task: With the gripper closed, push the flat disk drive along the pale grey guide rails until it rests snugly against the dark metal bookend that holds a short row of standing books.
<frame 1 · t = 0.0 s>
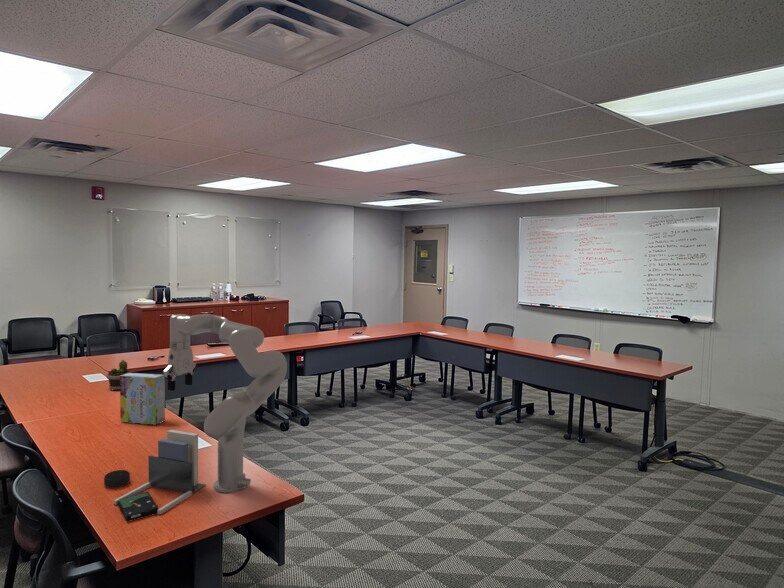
hand: (180, 387, 203), 37 cm above the table, tool pointing down, fingers open, 9 cm apart
snack box: (142, 422, 271), on the table
flowerpot: (119, 389, 336), on the table
book row: (176, 486, 197), resting on bookend
disk drive: (137, 510, 179), on the table
bookend: (170, 489, 194), on the table
smart speaker: (117, 484, 198), on the table
guide rails: (153, 499, 186), on the table
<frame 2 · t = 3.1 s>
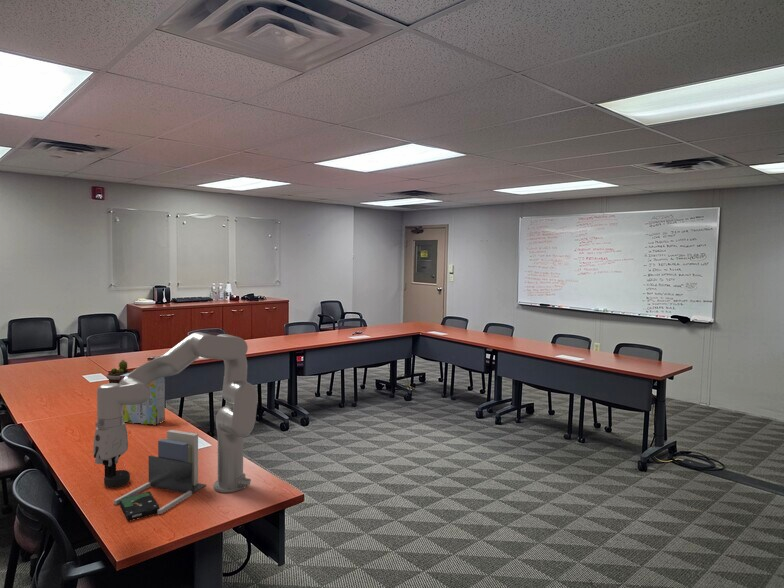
hand: (110, 476, 167), 16 cm above the table, tool pointing down, fingers closed
nothing on the table moved.
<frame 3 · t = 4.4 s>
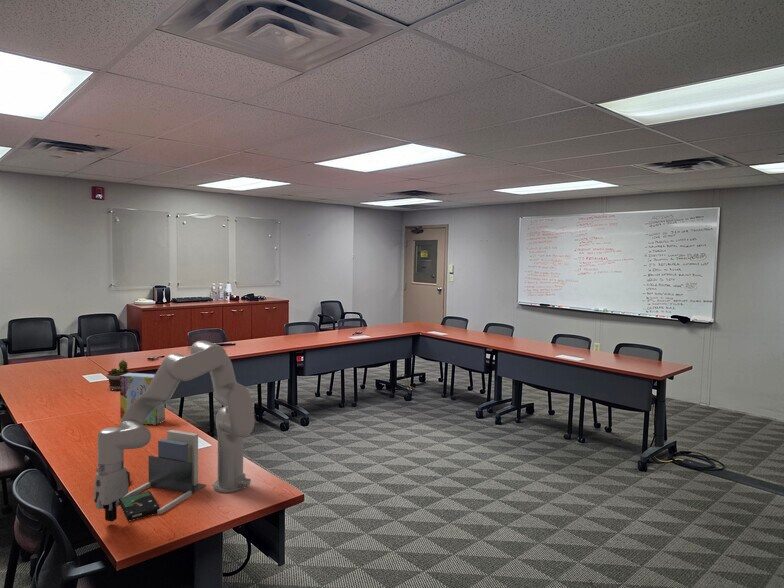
hand: (110, 519, 168), 2 cm above the table, tool pointing down, fingers closed
nothing on the table moved.
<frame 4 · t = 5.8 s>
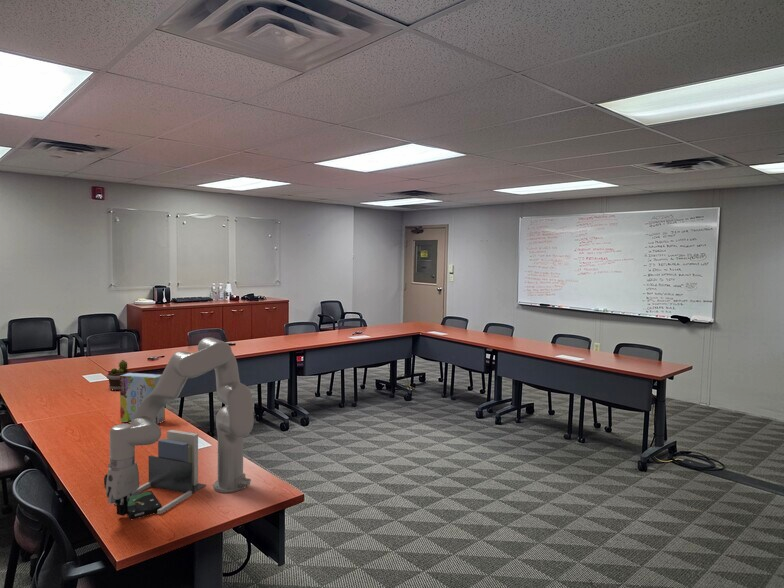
hand: (122, 513, 172), 1 cm above the table, tool pointing down, fingers closed
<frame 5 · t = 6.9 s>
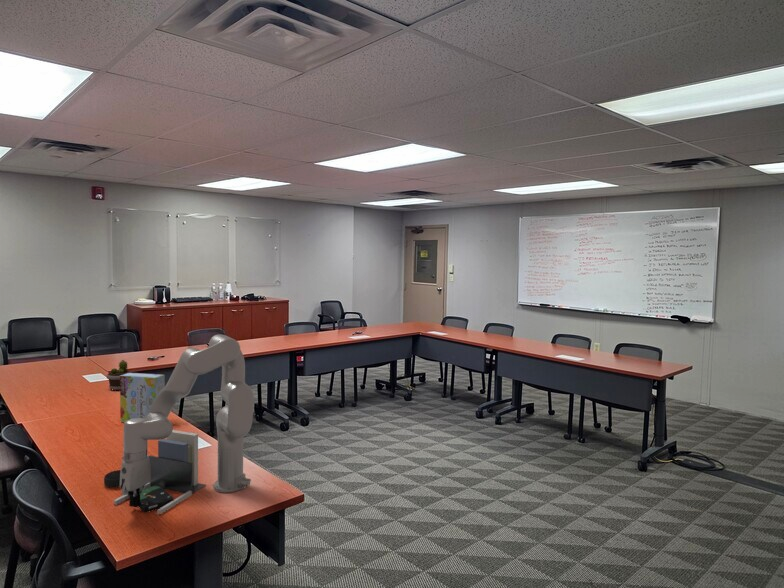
hand: (134, 505, 178), 2 cm above the table, tool pointing down, fingers closed
disk drive: (152, 502, 185), on the table, touching gripper, guide rails
everything else where it was.
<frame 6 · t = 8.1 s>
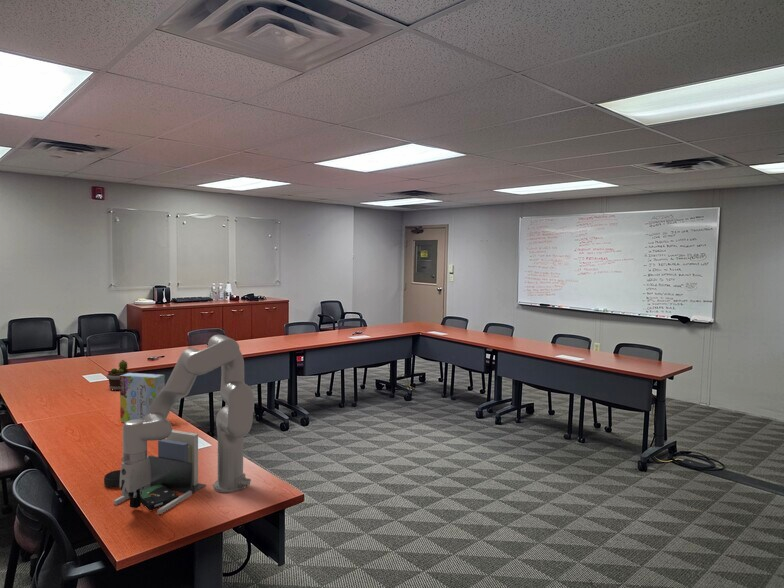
hand: (135, 506, 178), 1 cm above the table, tool pointing down, fingers closed
disk drive: (155, 501, 186), on the table
everything else where it was.
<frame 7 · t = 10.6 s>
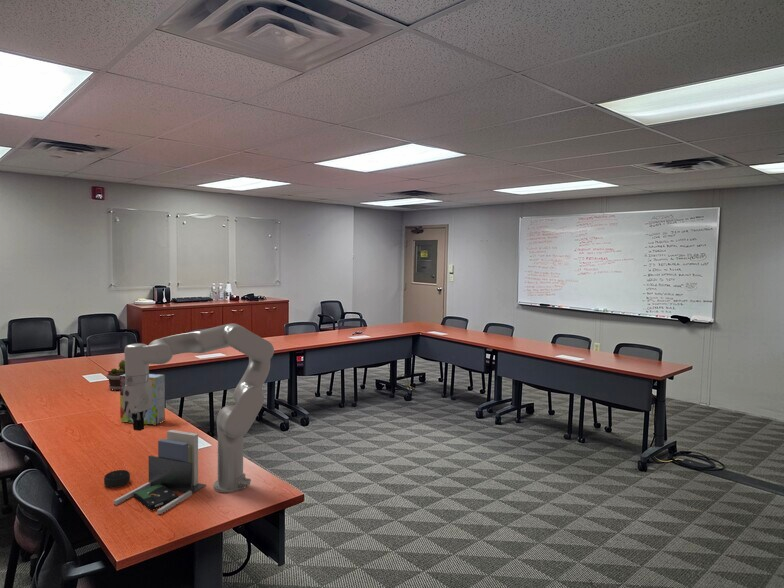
hand: (138, 429, 180), 28 cm above the table, tool pointing down, fingers closed
nothing on the table moved.
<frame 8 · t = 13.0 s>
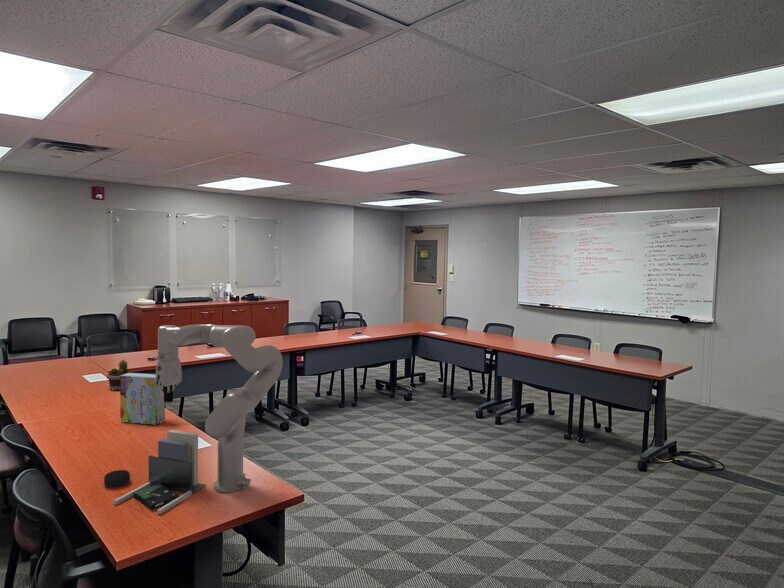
hand: (168, 401, 203), 31 cm above the table, tool pointing down, fingers closed
nothing on the table moved.
at the end: disk drive inside the target area (1.9 cm from its centre), on the table; disk drive moved 8.2 cm from its start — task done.
